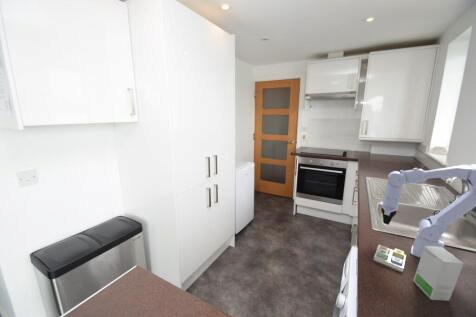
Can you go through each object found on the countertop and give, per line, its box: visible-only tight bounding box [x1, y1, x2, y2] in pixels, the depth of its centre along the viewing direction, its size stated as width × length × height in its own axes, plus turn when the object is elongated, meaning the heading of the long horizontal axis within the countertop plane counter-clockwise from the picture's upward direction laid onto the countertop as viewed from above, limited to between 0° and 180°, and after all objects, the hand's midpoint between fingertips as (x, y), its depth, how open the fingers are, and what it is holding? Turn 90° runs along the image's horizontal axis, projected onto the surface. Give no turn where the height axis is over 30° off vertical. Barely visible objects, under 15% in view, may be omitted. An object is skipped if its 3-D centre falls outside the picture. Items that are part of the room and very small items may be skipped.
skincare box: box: [412, 246, 465, 302], centre depth 73 cm, size 8×7×16 cm
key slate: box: [392, 256, 402, 266], centre depth 86 cm, size 3×3×2 cm
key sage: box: [377, 248, 388, 260], centre depth 89 cm, size 3×3×2 cm
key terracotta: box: [380, 244, 391, 253], centre depth 93 cm, size 3×3×2 cm
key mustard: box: [393, 248, 405, 259], centre depth 90 cm, size 3×3×2 cm
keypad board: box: [372, 244, 407, 274], centre depth 90 cm, size 10×11×2 cm
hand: (386, 223), depth 100 cm, fingers closed
